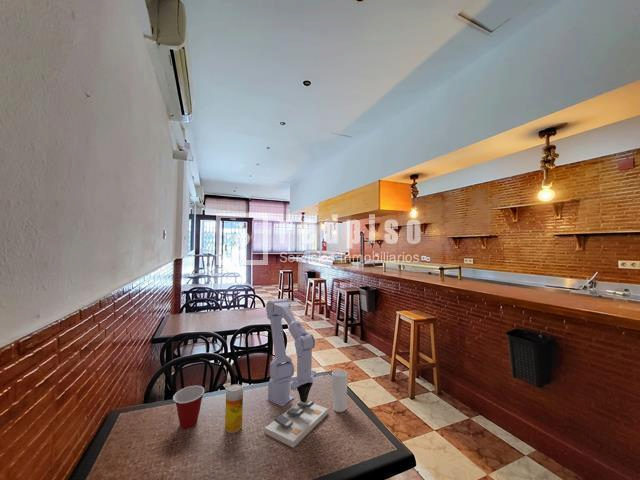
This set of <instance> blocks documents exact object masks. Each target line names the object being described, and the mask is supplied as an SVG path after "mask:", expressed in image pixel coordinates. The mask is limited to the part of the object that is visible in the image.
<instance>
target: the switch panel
mask: <svg viewBox="0 0 640 480" xmlns="http://www.w3.org/2000/svg"><path fill="white" fill-rule="evenodd" d="M300 401H301V400H300V399H299V401H298V402H296V403H295V404H294V405H292V406H291V407H290V408H288V410H286V411H285V412H284V413H283V414H281V415H283V416H284V417H286V418H287V419H289V420H291V421H292V422H293V425H292V426H291V427H289V428H288V429H286V428H284V427H283V426H281V425H280V424H278V423H277V422H275V419H274V420H273V421H272V422H271V423H269V424H268V425H266V426H265V428H264V434H266V435H267V436H269V437H270V438H272V439H273V438H274V439H275V440H278V441H279V442H281V443H283V444H285V445H288V446H289V447H292V448H295V447H296V446H297V445H298V444H299V443H300V442H301V441H302V440H303V439H304V438H305V437H306V436H307V435H308V434H309V433H310V432H311V431H312V430H313V429H314V428H315V427H316V426H317V425H318V424H319V423H320V422H321V421H322V420H323V419H324V418H325V417H326V416H327V415H328V414H329V409H328V408H327V407H324V406H322V405H319V404H317V403H314V404H313V405H312V406H311V407H310V408H308V407H300V406H298V403H299V402H300ZM291 408H295V409H303V410H304V413H303V414H302V415H300V416H292V415H287V411H289V410H290V409H291Z"/></svg>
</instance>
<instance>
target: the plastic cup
mask: <svg viewBox="0 0 640 480" xmlns="http://www.w3.org/2000/svg"><path fill="white" fill-rule="evenodd" d="M204 393H205V388H204V387H203V386H201V385H190V386H185V387H184V388H181V389H180V390H177V392H175V394H173V396H172V400H173V401H174V403H175V406H176V411H177V416H178V421H179V422H178V423H179V428H180V429H182V430H189V429H192V428H193V427H195V426H196V425H197V424H198V419H199V415H200V411H201V406H202V405H201V404H202V400H203V396H204Z"/></svg>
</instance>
